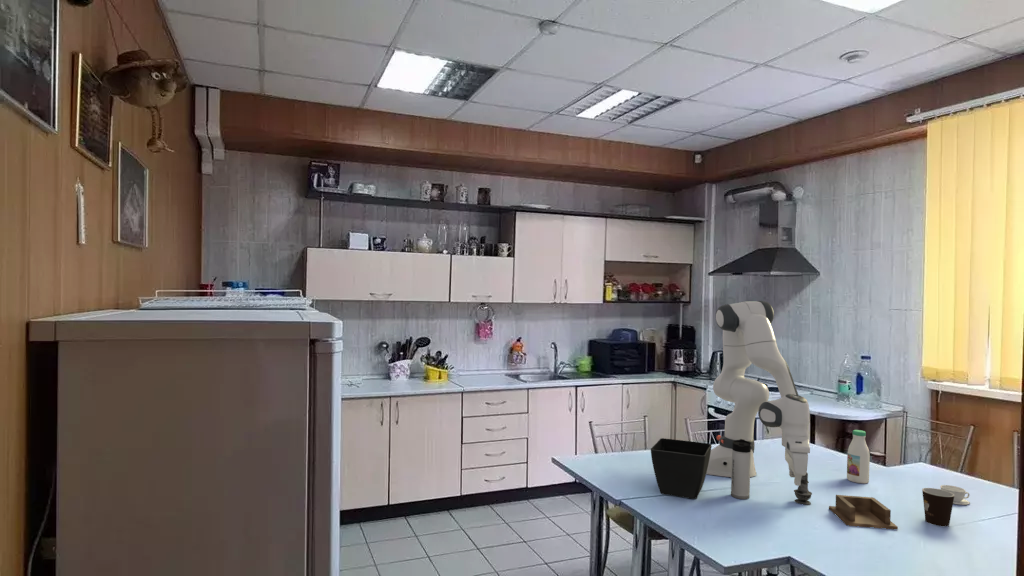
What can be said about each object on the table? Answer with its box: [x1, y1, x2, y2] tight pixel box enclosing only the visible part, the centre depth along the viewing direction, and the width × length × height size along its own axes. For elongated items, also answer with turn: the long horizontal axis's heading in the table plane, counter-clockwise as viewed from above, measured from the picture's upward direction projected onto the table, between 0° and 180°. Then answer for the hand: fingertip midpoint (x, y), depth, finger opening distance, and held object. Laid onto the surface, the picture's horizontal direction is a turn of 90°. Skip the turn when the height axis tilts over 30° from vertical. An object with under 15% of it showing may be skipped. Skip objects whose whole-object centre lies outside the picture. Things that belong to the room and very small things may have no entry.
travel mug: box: [730, 439, 751, 500], centre depth 216 cm, size 6×7×20 cm
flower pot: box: [650, 437, 713, 500], centre depth 219 cm, size 19×19×17 cm
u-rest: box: [828, 494, 899, 530], centre depth 198 cm, size 15×15×6 cm
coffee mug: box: [921, 487, 954, 528], centre depth 198 cm, size 12×9×10 cm
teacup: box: [940, 484, 970, 506], centre depth 219 cm, size 10×10×5 cm
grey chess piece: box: [793, 472, 813, 506], centre depth 212 cm, size 6×6×12 cm
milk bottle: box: [846, 429, 871, 484], centre depth 239 cm, size 8×8×20 cm
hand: (794, 480), depth 211 cm, fingers open, 8 cm apart
